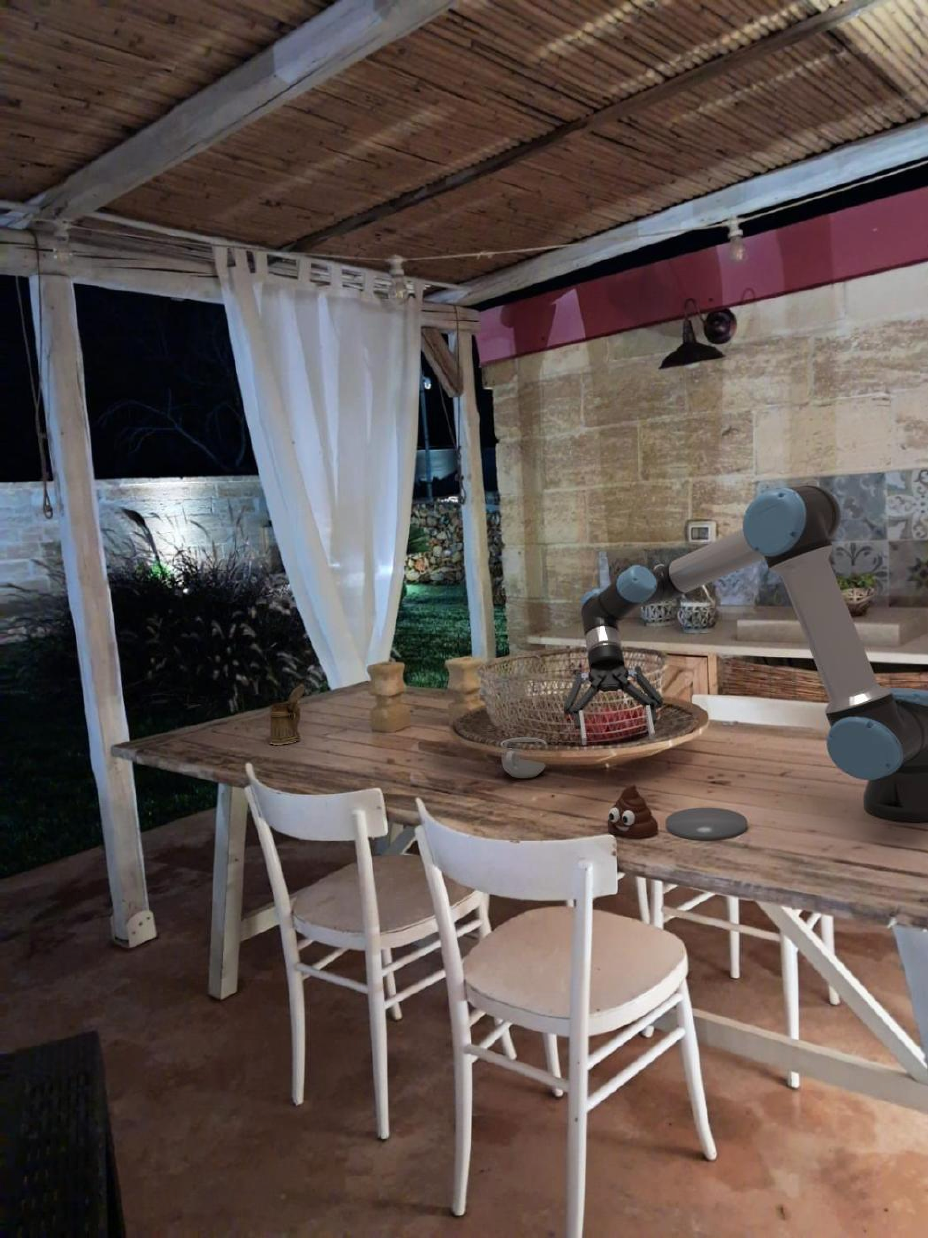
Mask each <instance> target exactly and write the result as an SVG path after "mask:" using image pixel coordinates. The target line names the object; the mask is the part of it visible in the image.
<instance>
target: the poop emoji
mask: <svg viewBox="0 0 928 1238" xmlns="http://www.w3.org/2000/svg"><path fill="white" fill-rule="evenodd" d="M607 830H609V832H610V833H612V834H613V833H614V835H623V836H625V837H626V838H627V837H628V838H631V839H646V838H649V836H650V837H652V836H653V835H655V834H656V833H657V832H658V830H659V824H658V821H657V819H656V818H655V817H654V816H653V814H652V810H651V809H650V808H649V806H648V804H647V803H646V800H645V798H644V797H643V796H642V795H640V793H639V791H638V790H637V788H636V785H635V784H632V785H629V786H627V787H625V788H624V790H623V791H622V793H620V796H619V797H618V798H617V800H616V801H615V804H614V805H613V806H612V808H610V810H609V812H608V819H607ZM645 837H646V838H645Z"/></svg>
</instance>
